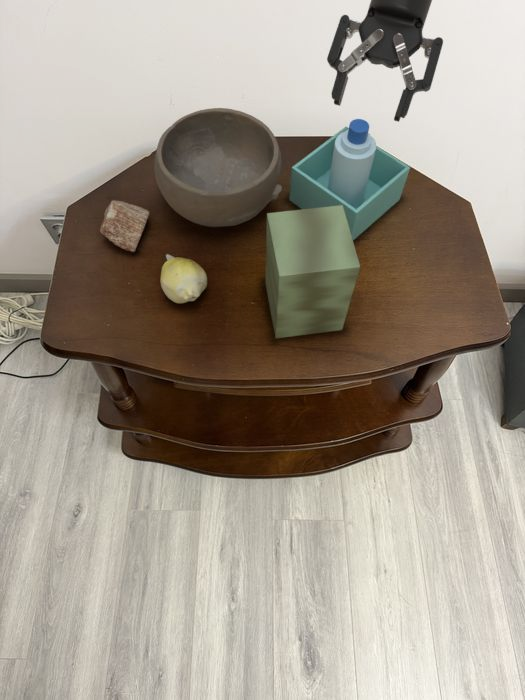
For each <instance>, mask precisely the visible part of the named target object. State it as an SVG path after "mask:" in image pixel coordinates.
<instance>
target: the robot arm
mask: <svg viewBox="0 0 525 700" xmlns="http://www.w3.org/2000/svg"><path fill="white" fill-rule="evenodd" d="M432 1H433V0H370V3H369V5H368V10H367V13H366V15H365V17H364V19H363V20H361V21H357V20H355V19H351V18H350V16H349V15H348V14H342V16H341V17H340V19H339V22H338V24H337V27H336V31H335V32H334V36H333V40H332V42H331V46H330V49H329V51H328V55H327V57H326V61H327V63H328V65H329V67H330V68H332V69H334V70H335V71H336V76H335V79H334V83H333V87H332V90H331V98H332V100H333V104H334V106H335V105H336V106H341V105H342V101H343V98H344V94H345V91H346V87H347V84H348V81H349V76H348V75H349V74H350V73H351V72H353V71H354V70H355V69H356V68H358V67H360V66H361V65H362V64H363V63H364V62H366V61H368V62H370V64H372V65H375V66H376V65H377V66H379V65H382V66H384V67H386V68H388V69H394V68H398V67H399V69H400V73H401V76H402V79H403V82H404V85H405V89H403V90H402V92H401V96H400V99H399V103H398V105H397V108H396V111H395V114H394V118H393V121H395V122H398V123H399V122H401V121H400V120H401V119H405V118H406V117H407V115H408V112H409V110H410V106H411V103H412V100H413V98H414V96H415V95H416V93H419V92H425V93H426V92H429V91H430V90H431V87H432V83H433V81H434V77H435V73H436V70H437V66H438V64H439V59H440V55H441V52H442V48H443V44H444V39H443V38H442V37H440V36H437V37H435V38H429V37H424V36H423V29H424V26H425V24H426V20H427V17H428V14H429V11H430V7H431V4H432ZM356 33H358V34H359V39H360V42H361V43H360V44H359V45H358V46H357V47H356V48H355V49H353V50H352V51H351V52H350V54H349V55H347V57H346V58H345V59H344V60H342V59H341V56H342V53H343V52H344V51H343V50H344V48H345V45H346V42H347V40H350V39H351V38H352V37H353V36H354V35H355V34H356ZM421 48H422V49H423V55H424V58H426V59H428V60H427V63H426V67H425V70H424V75H423V78H422V79H421V78H420V79H416V77H415V74H414V70H413V67H412V63H411V60H410V57H412V56H413V55H414V54H415V53H416V52H418V51H419V50H420V49H421Z"/></svg>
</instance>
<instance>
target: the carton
mask: <svg viewBox="0 0 525 700" xmlns="http://www.w3.org/2000/svg"><path fill="white" fill-rule="evenodd" d="M348 129H349V126H344V127H343V128H342V129H340V130H339V131H338V132H336V133H335V134H333V135H332V136H331V137H330V138H329V139H327V140H325V142H323V143H322V144H320V145H319V146H318V147H317V148H315V149H314V150H313V151H311V152H310V153H309V154H308V155H306V156H304V158H302V159H301V160H300V161H298V162H296V163H295V165H293V166H292V167H291V170H290V185H289V199H288V200H289V201H290V202H291V203H292V204H294V205H295V206H297V207H298V208H300V210H302V209H312V208H321V207H330V206H339V205H343V208H344V212H345V215H346V219H347V222H348V225H349V229H350V232H351V236H352V239H353V241H354V240H356V239H357V238H358V237H359V236H361V234H362V233H364V232H365V231H366V230H367V229H368V228H369V227H371V226H372V225H373V224H374V223H375V222H376V221H378V219H380V218H381V217H382V216H383V215H384V214H385V213H386V212H387V211H389V210H390V209H391V208H392V207H393V206H394V205H396V204H397V203H398V202H399V201H400V200H401V197H402V194H403V191H404V188H405V185H406V182H407V179H408V176H409V173H410V170H411V166H410V165H408V164H406V163H405V162H403V161H401V160H400V159H399V158H397V157H395V156H394V155H392V154H390V153H389V152H387V151H386V150H385V149H382V148H381V147H379V146H378V145H376V151H375V155H374V159H373V163H372V167H371V171H370V175H369V179H368V183H367V187H366V191H365V195H364V199H363V202H362V204H361V205H360V206H359V207H358V208H356V209H355V208H354V207H352V206H351V205H349V204H348V203H347V202H345V201H344V200H342V199H341V198H339V197H338V196H337V195H335V194H334V193H332V192H331V191H329V190H328V183H329V176H330V170H331V164H332V158H333V151H334V145H335V140H336V138H337V137H338V136H339V135H340V134H341V133H343V132H345V131H346V130H348Z"/></svg>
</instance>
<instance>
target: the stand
mask: <svg viewBox="0 0 525 700" xmlns="http://www.w3.org/2000/svg"><path fill="white" fill-rule="evenodd" d="M265 237H266V238H265V247H266V248H265V280H264V281H265V289H266V294H267V299H268V304H269V310H270V316H271V320H272V327H273V332H274V337H275V339H282V338H290V337H291V338H292V337H298V336H306V335H313V334H314V335H315V334H321V333H329V332H339V331H343V329H344V325H345V321H346V318H347V315H348V311H349V308H350V304H351V301H352V297H353V294H354V290H355V287H356V284H357V280H358V276H359V273H360V269H361V264H360V260H359V257H358V253H357V251H356V247H355V243H354V240H353V239H352V236H351V232H350V229H349V225H348V222H347V219H346V215H345V212H344V208H343V205H339V206H330V207H321V208H312V209H294V210H285V211H276V212H267V213H266V233H265Z"/></svg>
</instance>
